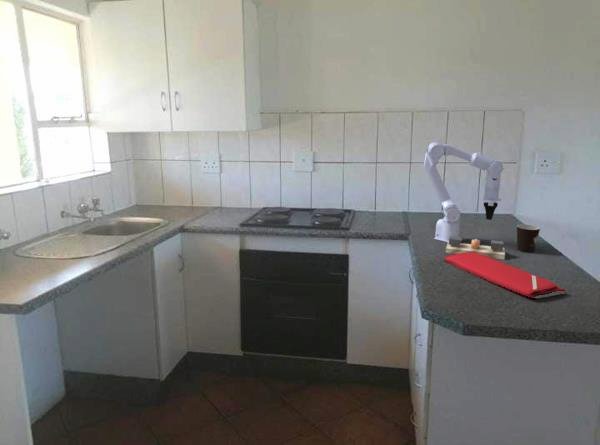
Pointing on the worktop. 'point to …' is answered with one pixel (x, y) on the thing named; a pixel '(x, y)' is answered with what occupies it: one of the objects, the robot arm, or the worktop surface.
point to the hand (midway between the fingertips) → (488, 219)
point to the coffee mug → (527, 237)
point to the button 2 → (497, 245)
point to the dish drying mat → (503, 274)
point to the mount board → (476, 250)
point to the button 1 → (454, 240)
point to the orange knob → (475, 244)
